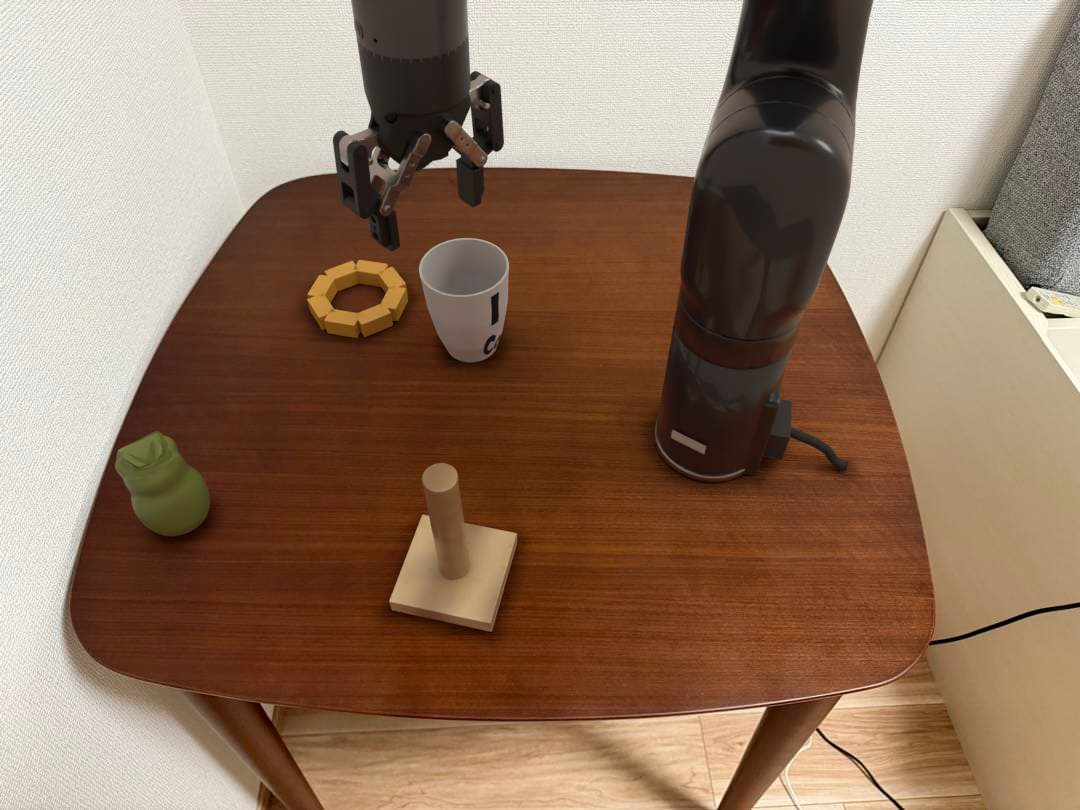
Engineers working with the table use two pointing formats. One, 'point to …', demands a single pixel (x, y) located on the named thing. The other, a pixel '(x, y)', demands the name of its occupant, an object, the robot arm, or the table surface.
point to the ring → (366, 319)
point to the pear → (163, 485)
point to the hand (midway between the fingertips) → (430, 222)
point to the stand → (453, 560)
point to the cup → (466, 295)
